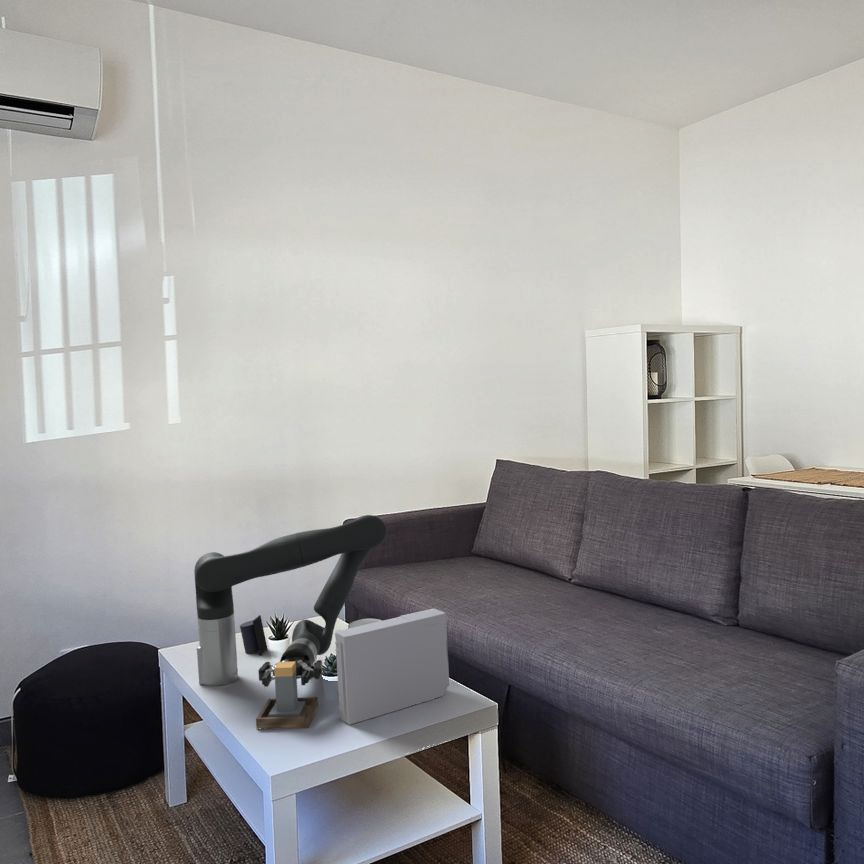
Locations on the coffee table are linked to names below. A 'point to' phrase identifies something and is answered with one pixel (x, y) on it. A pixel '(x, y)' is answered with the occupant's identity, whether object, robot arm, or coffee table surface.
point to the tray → (287, 722)
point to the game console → (391, 664)
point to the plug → (286, 692)
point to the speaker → (254, 636)
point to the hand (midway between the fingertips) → (284, 681)
